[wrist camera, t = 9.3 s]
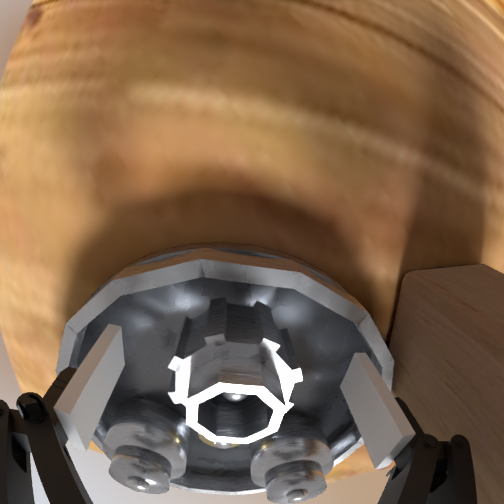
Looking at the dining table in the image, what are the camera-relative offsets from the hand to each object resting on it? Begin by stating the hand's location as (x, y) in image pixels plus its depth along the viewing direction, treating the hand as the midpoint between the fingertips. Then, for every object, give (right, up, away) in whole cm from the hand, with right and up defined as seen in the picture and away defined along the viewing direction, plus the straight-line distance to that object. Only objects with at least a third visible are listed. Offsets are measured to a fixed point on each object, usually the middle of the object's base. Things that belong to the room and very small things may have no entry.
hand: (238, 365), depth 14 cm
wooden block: (+16, 0, +5) cm, 17 cm away
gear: (0, 0, +3) cm, 3 cm away
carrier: (-2, -5, +6) cm, 8 cm away
